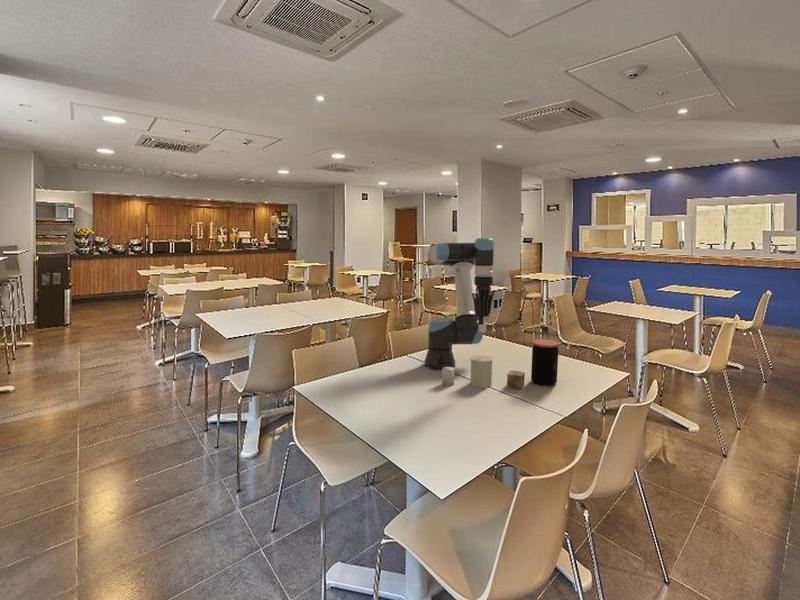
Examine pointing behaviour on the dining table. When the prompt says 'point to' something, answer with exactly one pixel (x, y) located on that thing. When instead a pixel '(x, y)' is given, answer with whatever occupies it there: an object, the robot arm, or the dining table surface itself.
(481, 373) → the can
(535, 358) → the coffee jar
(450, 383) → the grey cylinder
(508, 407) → the dining table surface
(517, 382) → the walnut block
